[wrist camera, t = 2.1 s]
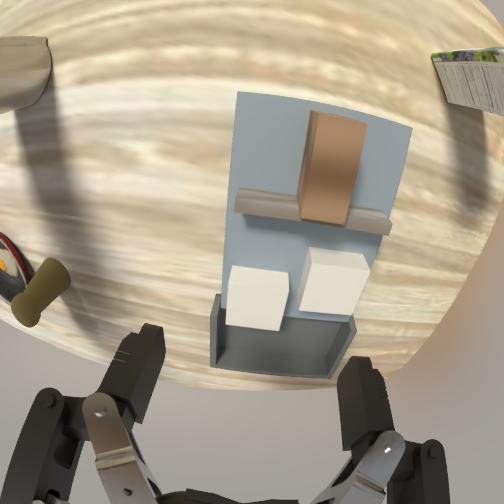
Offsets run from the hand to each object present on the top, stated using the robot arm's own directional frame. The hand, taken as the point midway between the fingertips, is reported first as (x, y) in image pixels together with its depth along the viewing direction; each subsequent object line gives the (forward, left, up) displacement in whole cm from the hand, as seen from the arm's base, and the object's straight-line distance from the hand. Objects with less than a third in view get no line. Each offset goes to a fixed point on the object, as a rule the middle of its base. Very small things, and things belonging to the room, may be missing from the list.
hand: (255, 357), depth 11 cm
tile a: (+7, +8, -17) cm, 20 cm away
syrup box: (-18, +18, -20) cm, 32 cm away
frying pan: (+18, -54, -20) cm, 60 cm away
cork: (+16, -32, -20) cm, 41 cm away
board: (+2, +4, -20) cm, 20 cm away
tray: (+20, +4, -20) cm, 28 cm away
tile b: (+11, 0, -17) cm, 20 cm away
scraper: (-5, +4, -17) cm, 18 cm away
